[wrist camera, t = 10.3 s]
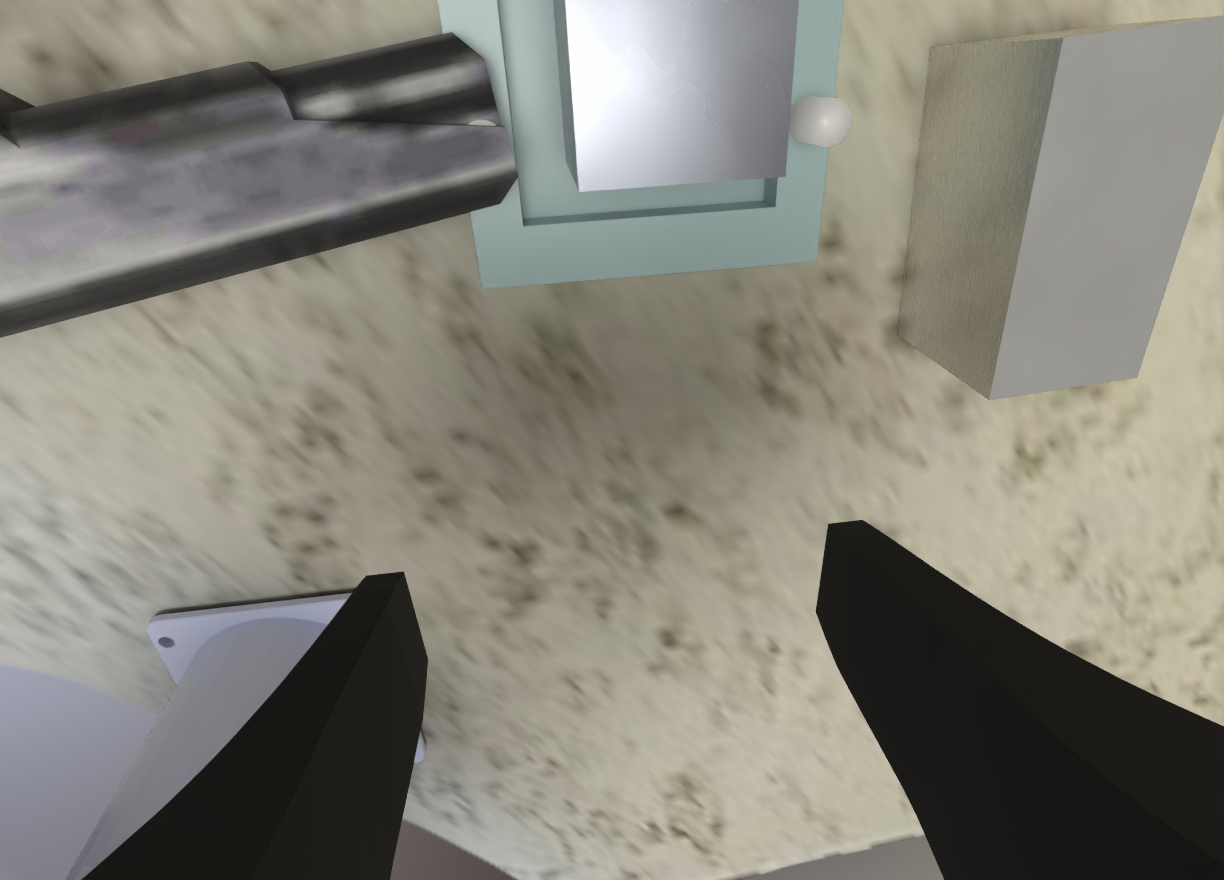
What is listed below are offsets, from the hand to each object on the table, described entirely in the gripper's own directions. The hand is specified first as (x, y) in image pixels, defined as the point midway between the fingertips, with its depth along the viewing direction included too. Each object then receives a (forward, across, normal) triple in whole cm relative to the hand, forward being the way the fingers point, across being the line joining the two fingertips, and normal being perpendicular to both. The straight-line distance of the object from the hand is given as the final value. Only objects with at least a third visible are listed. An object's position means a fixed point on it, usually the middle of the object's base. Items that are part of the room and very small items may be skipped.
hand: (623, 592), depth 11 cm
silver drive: (+11, -12, -4) cm, 17 cm away
